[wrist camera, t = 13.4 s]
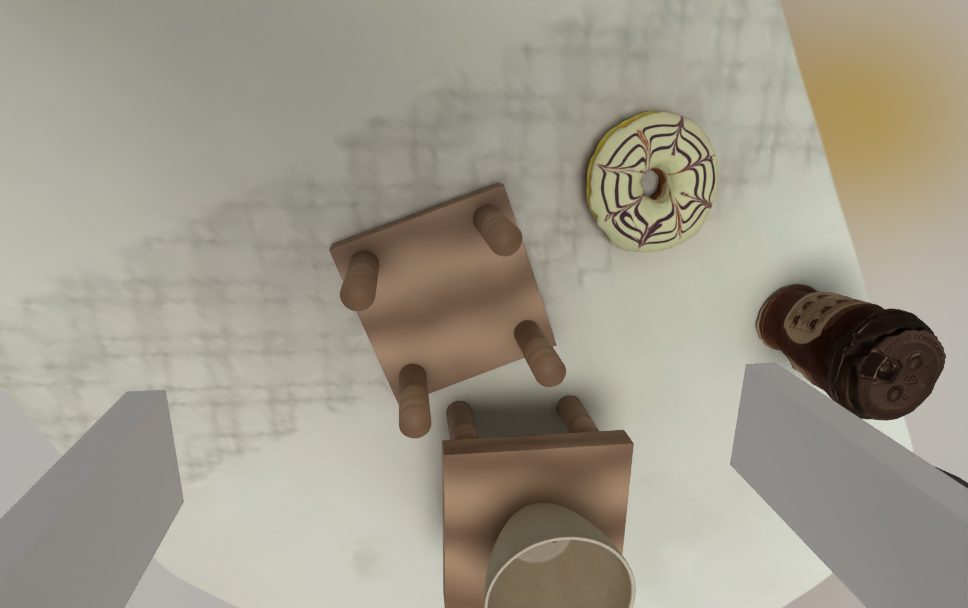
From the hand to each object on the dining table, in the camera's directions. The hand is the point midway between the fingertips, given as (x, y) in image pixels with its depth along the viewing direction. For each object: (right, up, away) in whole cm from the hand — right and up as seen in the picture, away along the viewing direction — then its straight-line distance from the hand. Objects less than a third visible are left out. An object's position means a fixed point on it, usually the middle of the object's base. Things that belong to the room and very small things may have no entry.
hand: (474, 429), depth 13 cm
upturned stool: (-3, +4, +35) cm, 35 cm away
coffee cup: (+28, +2, +40) cm, 49 cm away
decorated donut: (+13, +13, +35) cm, 40 cm away
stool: (+3, -11, +41) cm, 42 cm away
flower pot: (+4, -14, +31) cm, 35 cm away
